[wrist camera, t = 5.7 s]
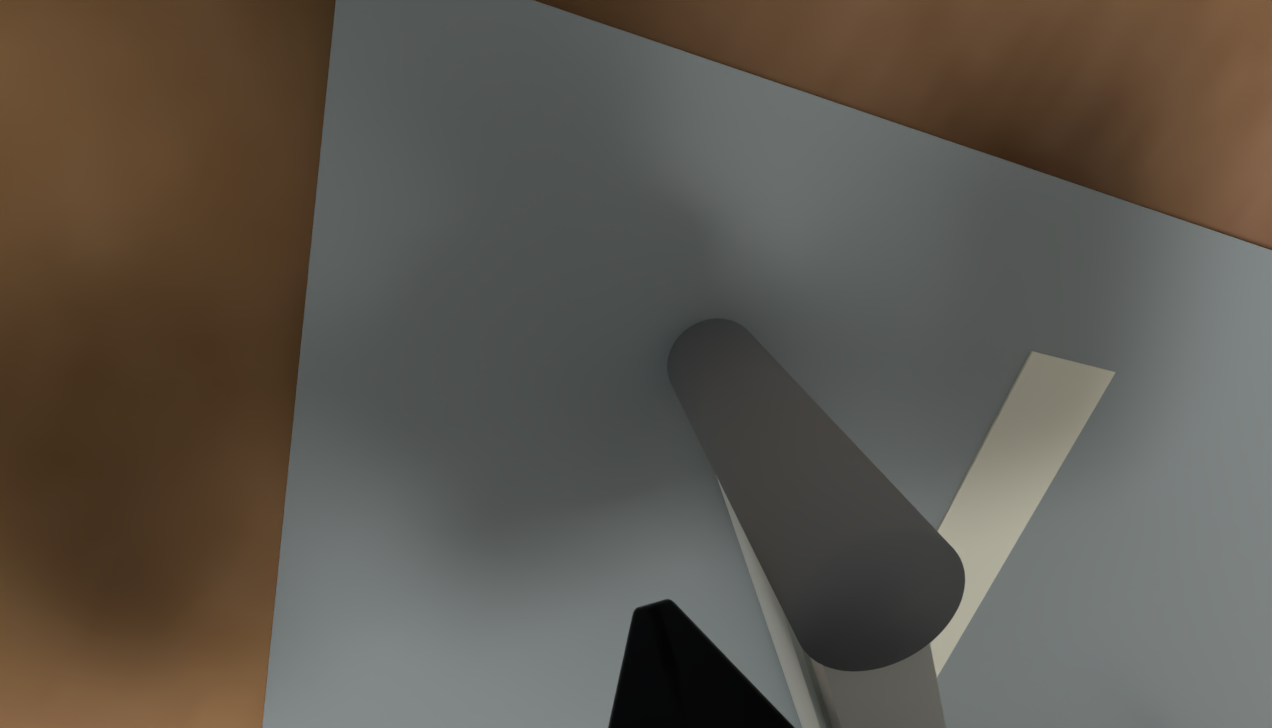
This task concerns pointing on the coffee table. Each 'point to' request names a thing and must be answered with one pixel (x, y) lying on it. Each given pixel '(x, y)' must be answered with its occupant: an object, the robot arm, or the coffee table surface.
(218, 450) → the coffee table surface
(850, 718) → the swing panel
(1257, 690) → the mat
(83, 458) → the coffee table surface
